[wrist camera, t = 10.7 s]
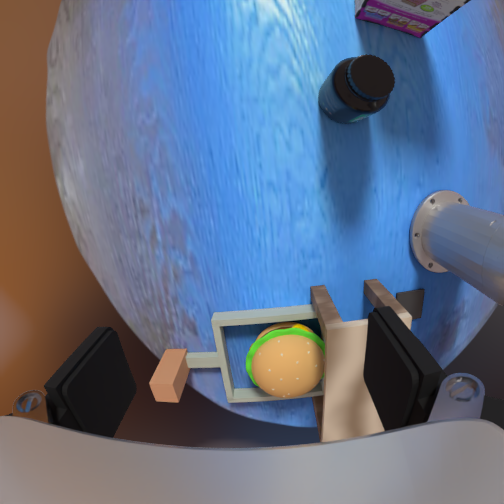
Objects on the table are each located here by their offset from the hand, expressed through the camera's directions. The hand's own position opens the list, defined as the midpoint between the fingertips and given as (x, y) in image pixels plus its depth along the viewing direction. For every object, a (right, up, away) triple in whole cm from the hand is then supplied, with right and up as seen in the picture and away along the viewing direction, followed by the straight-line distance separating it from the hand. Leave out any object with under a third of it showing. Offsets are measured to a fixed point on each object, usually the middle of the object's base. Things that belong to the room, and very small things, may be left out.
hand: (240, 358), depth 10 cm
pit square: (+25, -5, +32) cm, 41 cm away
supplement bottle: (+12, +24, +25) cm, 36 cm away
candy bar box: (+21, +39, +20) cm, 49 cm away
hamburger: (+6, -11, +35) cm, 37 cm away
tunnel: (+15, -11, +34) cm, 39 cm away
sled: (-1, -12, +35) cm, 37 cm away
